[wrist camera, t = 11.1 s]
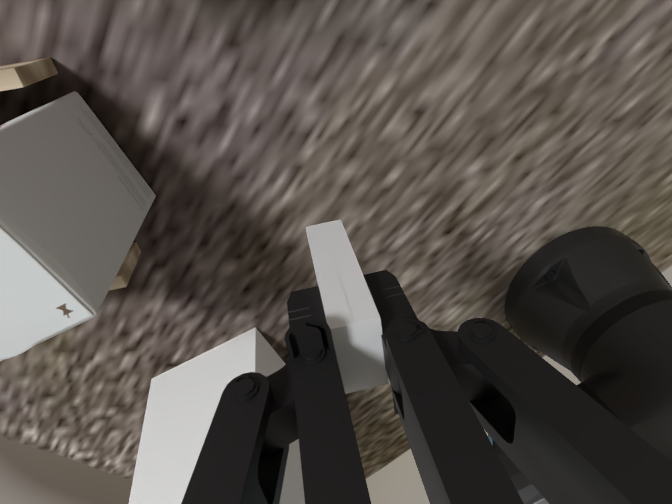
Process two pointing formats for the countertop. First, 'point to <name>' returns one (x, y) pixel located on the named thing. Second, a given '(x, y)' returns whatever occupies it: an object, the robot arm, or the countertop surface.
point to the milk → (199, 420)
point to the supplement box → (61, 220)
